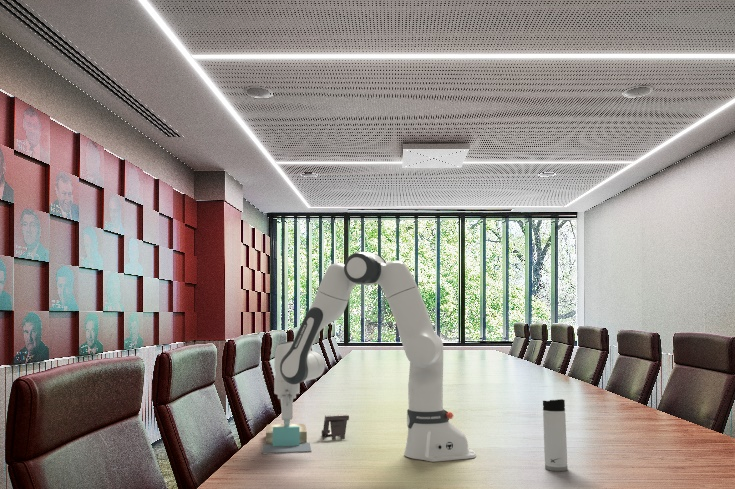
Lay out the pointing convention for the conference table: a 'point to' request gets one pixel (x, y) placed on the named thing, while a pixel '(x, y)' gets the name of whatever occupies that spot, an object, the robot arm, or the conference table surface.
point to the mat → (286, 448)
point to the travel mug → (555, 435)
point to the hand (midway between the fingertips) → (286, 429)
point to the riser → (301, 426)
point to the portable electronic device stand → (335, 426)
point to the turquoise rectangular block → (286, 436)
